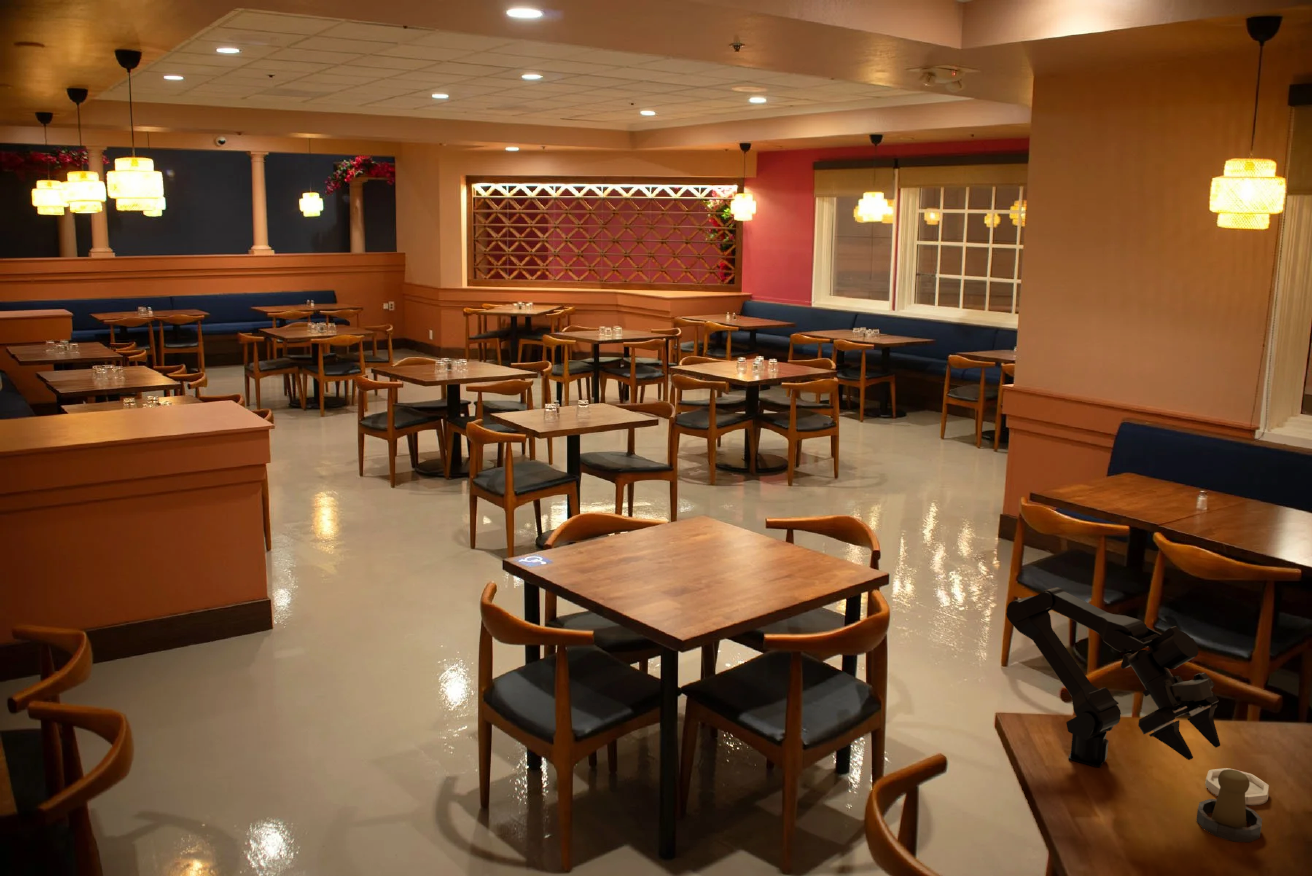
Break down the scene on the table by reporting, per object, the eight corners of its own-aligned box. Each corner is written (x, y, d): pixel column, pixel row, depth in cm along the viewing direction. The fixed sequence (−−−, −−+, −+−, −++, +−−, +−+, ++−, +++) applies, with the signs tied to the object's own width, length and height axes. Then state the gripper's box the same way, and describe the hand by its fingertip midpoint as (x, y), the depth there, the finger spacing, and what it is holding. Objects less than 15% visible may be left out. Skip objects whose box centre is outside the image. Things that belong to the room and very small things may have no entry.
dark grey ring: (1193, 830, 198) (1195, 818, 197) (1200, 804, 207) (1202, 793, 206) (1257, 848, 192) (1259, 836, 192) (1262, 821, 201) (1263, 809, 200)
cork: (1251, 836, 196) (1257, 782, 194) (1215, 832, 197) (1222, 779, 195) (1240, 819, 202) (1246, 766, 200) (1206, 815, 203) (1212, 763, 201)
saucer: (1202, 794, 210) (1202, 786, 210) (1208, 770, 220) (1209, 762, 219) (1266, 811, 204) (1267, 802, 204) (1270, 786, 214) (1271, 778, 213)
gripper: (1158, 672, 198) (1209, 750, 191) (1214, 651, 208) (1264, 725, 201) (1117, 695, 206) (1164, 771, 199) (1172, 674, 216) (1219, 746, 209)
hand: (1204, 752), depth 202 cm, fingers open, 9 cm apart
